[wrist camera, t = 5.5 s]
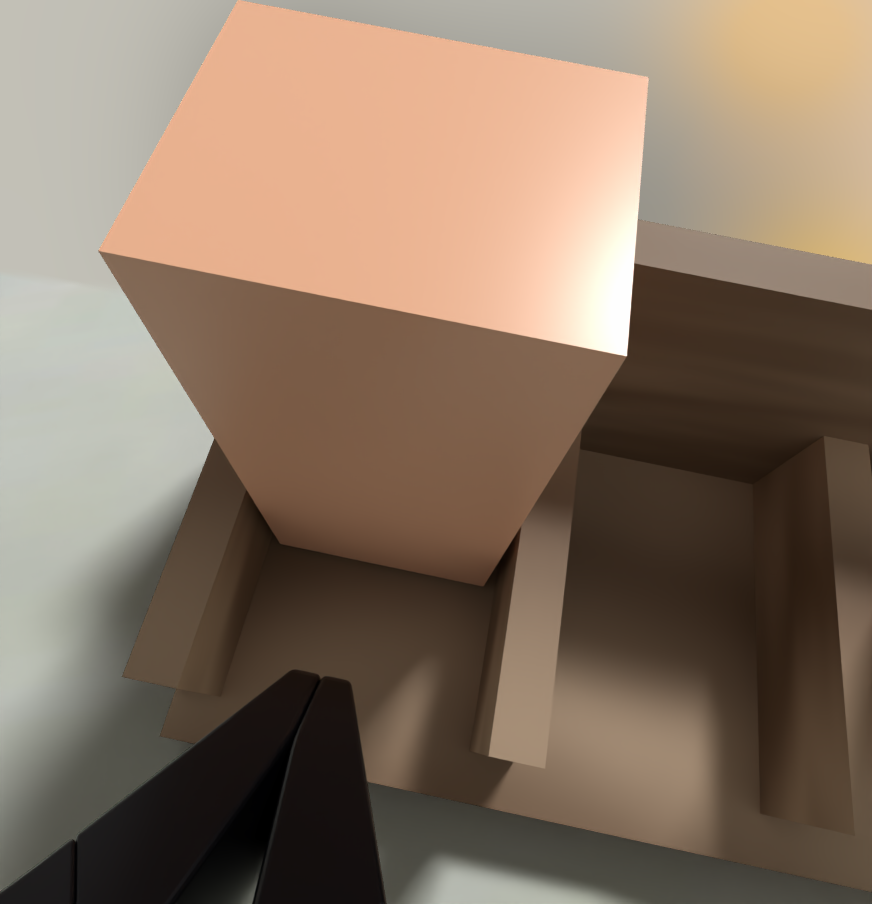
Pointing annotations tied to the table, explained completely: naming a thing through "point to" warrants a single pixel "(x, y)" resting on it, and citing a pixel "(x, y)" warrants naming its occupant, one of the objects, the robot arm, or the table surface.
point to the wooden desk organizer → (609, 591)
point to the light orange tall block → (389, 276)
